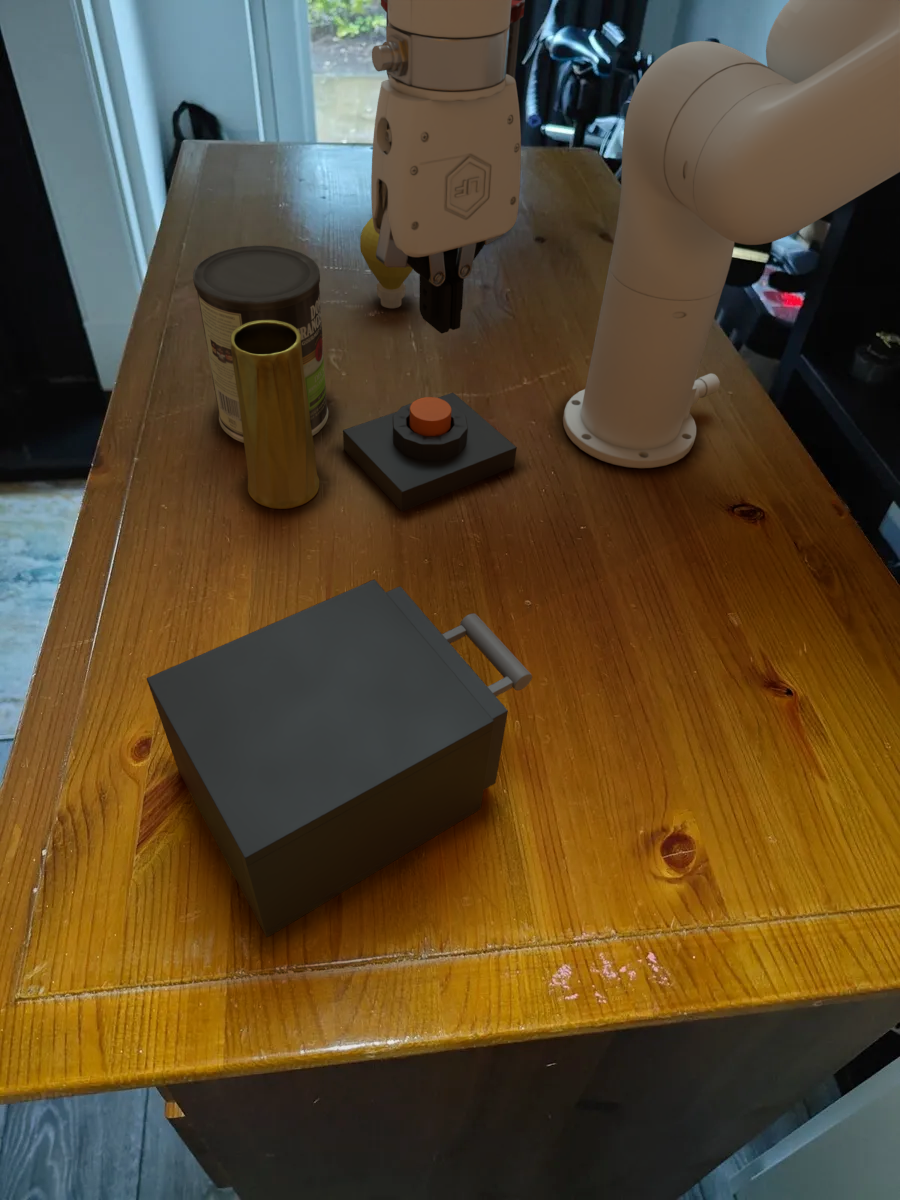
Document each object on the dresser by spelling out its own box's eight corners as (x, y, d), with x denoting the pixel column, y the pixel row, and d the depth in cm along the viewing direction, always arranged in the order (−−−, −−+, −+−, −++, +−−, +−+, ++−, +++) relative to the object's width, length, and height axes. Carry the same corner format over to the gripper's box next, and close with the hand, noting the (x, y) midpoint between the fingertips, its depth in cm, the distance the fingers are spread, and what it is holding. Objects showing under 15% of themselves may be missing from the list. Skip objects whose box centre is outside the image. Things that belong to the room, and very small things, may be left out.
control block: (452, 411, 82) (454, 375, 79) (514, 467, 76) (519, 430, 73) (343, 450, 77) (341, 412, 74) (402, 512, 71) (402, 474, 68)
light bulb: (351, 309, 94) (347, 218, 87) (377, 284, 98) (375, 195, 91) (406, 323, 93) (407, 232, 85) (429, 297, 97) (433, 208, 90)
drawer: (450, 638, 61) (456, 560, 55) (549, 751, 55) (567, 678, 49) (218, 751, 53) (198, 675, 48) (303, 897, 47) (290, 830, 42)
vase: (261, 518, 70) (238, 366, 59) (238, 475, 73) (212, 325, 63) (330, 498, 72) (319, 348, 62) (304, 458, 76) (290, 309, 65)
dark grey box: (376, 673, 59) (374, 578, 52) (480, 809, 53) (494, 720, 46) (178, 770, 53) (146, 677, 46) (267, 938, 47) (244, 858, 40)
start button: (435, 409, 76) (436, 392, 74) (458, 429, 74) (459, 412, 72) (401, 421, 74) (401, 404, 73) (424, 442, 72) (424, 425, 71)
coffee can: (342, 394, 83) (335, 253, 72) (309, 456, 76) (296, 310, 66) (242, 377, 84) (221, 236, 74) (200, 437, 77) (171, 291, 67)
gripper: (376, 91, 48) (383, 372, 62) (576, 56, 54) (543, 320, 68) (314, 56, 52) (334, 327, 66) (507, 27, 58) (489, 281, 72)
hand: (440, 323), depth 67 cm, fingers closed
